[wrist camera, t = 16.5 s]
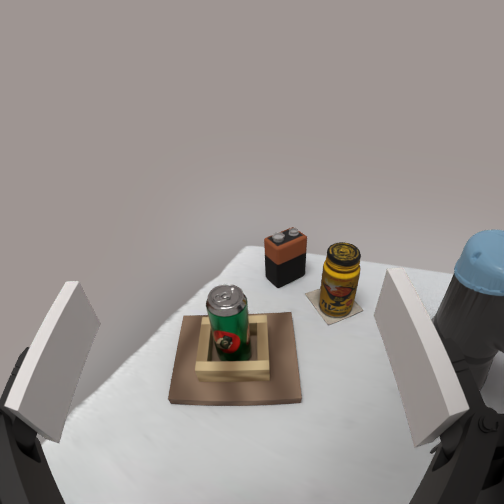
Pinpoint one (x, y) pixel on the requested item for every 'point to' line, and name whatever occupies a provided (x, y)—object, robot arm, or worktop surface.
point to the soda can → (229, 322)
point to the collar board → (237, 365)
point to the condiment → (338, 284)
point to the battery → (285, 256)
